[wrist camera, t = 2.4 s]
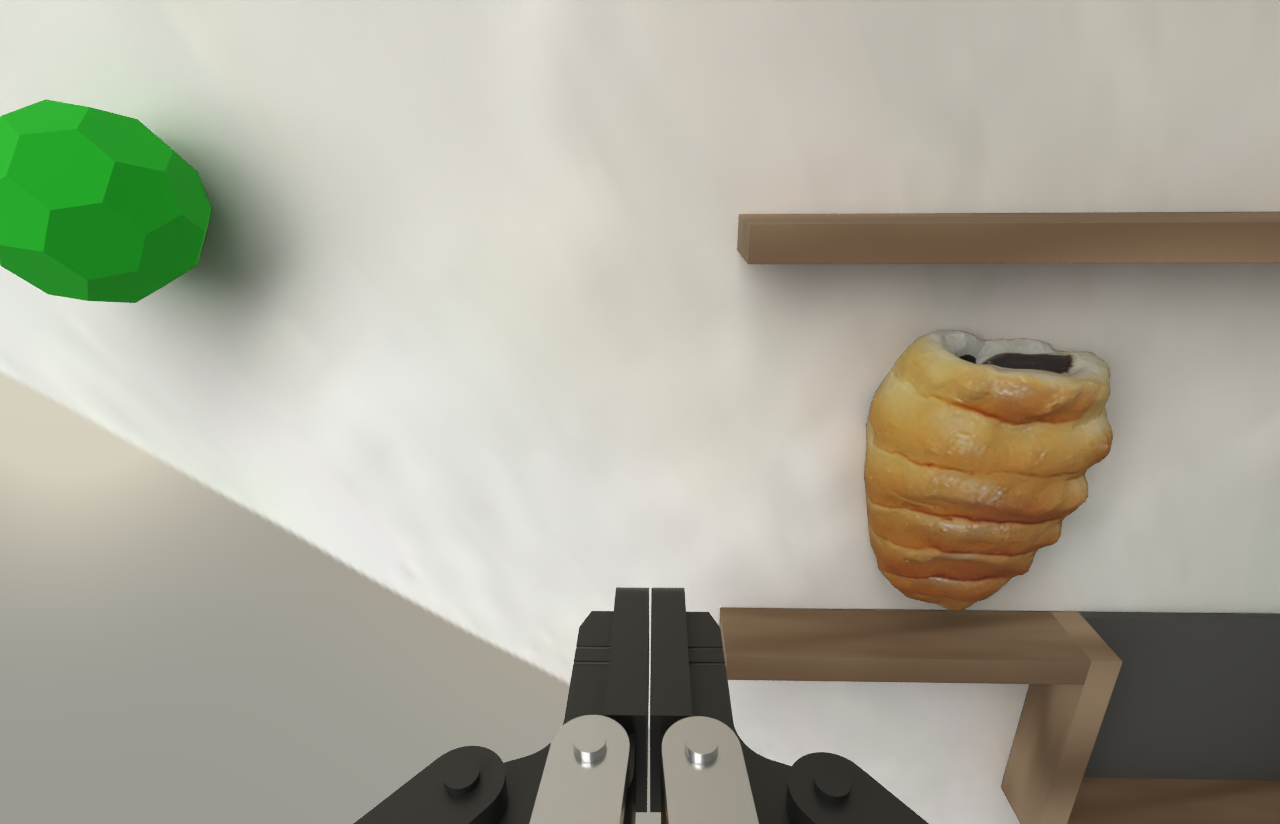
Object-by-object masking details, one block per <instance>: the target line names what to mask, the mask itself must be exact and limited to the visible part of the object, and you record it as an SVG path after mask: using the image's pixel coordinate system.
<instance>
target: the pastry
mask: <svg viewBox="0 0 1280 824" xmlns="http://www.w3.org/2000/svg"><path fill="white" fill-rule="evenodd" d="M1109 377H1110V371H1109V367H1108V365H1107V363H1106V362H1104V361H1103V360H1101V359H1100V358H1098V357H1097V356H1096V355H1094V354H1093V353H1091V352H1064V351H1054V350H1053V348H1052V347H1051V345H1050V344H1048V343H1045V342H1042V341H1038V340H1029V339H1023V338H1020V339H1014V340H1005V339H998V340H990V341H982V340H980V339H978V338H977V337H976V336H974V335H972V334H970V333H967V332H963V331H944V330H937V331H935V332H932V333H930V334H927V335H925V336H922V337H920V338H918V339H917V340H916V341H915V342H914V343H913V344H912V345H910V346H909V348H908V349H907V350H906V351H905V352H904V353H903V354H902V355H901V357H900V358H899V359H898V360H897V362H896V363H895V365H894V366H893V368H892V369H891V371H890V372H889V374H888V375H887V376H886V378H885V379H884V380H883V382H882V383H881V385H880V386H879V388H878V390H877V391H876V393H875V395H874V397H873V400H872V403H871V407H870V412H869V416H868V421H867V424H866V439H867V442H866V460H865V473H864V479H865V489H866V500H867V515H868V527H869V534H870V542H871V546H872V548H873V550H874V553H875V555H876V558H877V563H878V567H879V569H880V571H881V572H882V574H883V575H884V576H885V577H886V578H887V579H888V580H889V581H890V583H891V584H892V585H893V586H894V587H895V588H897V589H898V590H899V591H901V592H902V593H903V594H904V595H905V596H907V597H909V598H912V599H916V600H920V601H924V602H928V603H936V604H939V605H941V606H942V607H944V608H947V609H950V610H956V611H961V610H963V609H965V608H966V607H968V606H970V605H972V604H974V603H975V602H977V601H980V600H984V599H986V598H988V597H989V596H991V595H993V594H994V593H996V592H997V591H998V590H999V589H1000V588H1001V587H1002V586H1003V585H1005V584H1006V583H1007V582H1008V581H1009V580H1010V579H1011V578H1012V577H1014V576H1017V575H1023V574H1024V573H1026V572H1028V570H1029V568H1030V566H1031V564H1032V561H1033V557H1034V555H1035V553H1036V551H1037V550H1038V549H1039V548H1042V547H1044V546H1048V545H1052V544H1054V543H1056V542H1057V541H1058V539H1059V537H1060V535H1061V526H1062V520H1063V519H1064V518H1065V517H1066V516H1067V515H1069V514H1071V513H1072V512H1073V511H1074V510H1076V509H1077V508H1078V507H1079V506H1080V505H1081V504H1082V503H1084V502H1085V500H1086V499H1087V497H1088V484H1087V481H1086V478H1085V472H1086V470H1087V469H1088V468H1090V467H1091V466H1092V465H1094V464H1096V463H1098V462H1100V461H1101V460H1102V459H1104V458H1105V457H1106V456H1107V455H1108V453H1109V452H1110V448H1111V443H1112V439H1113V434H1112V430H1111V427H1110V424H1109V422H1108V420H1107V415H1106V409H1105V404H1106V402H1107V400H1108V397H1109V395H1110V385H1109Z"/></svg>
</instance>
